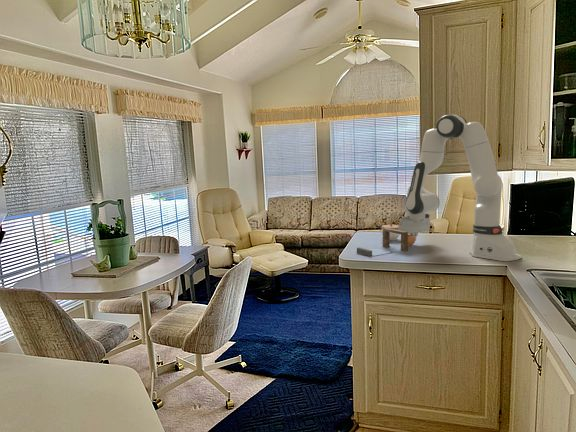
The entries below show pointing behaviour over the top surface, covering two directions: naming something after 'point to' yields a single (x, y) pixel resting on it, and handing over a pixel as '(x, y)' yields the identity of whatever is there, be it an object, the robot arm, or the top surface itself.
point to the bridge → (403, 233)
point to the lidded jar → (392, 235)
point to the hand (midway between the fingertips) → (413, 240)
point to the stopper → (364, 251)
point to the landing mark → (378, 252)
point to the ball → (411, 240)
